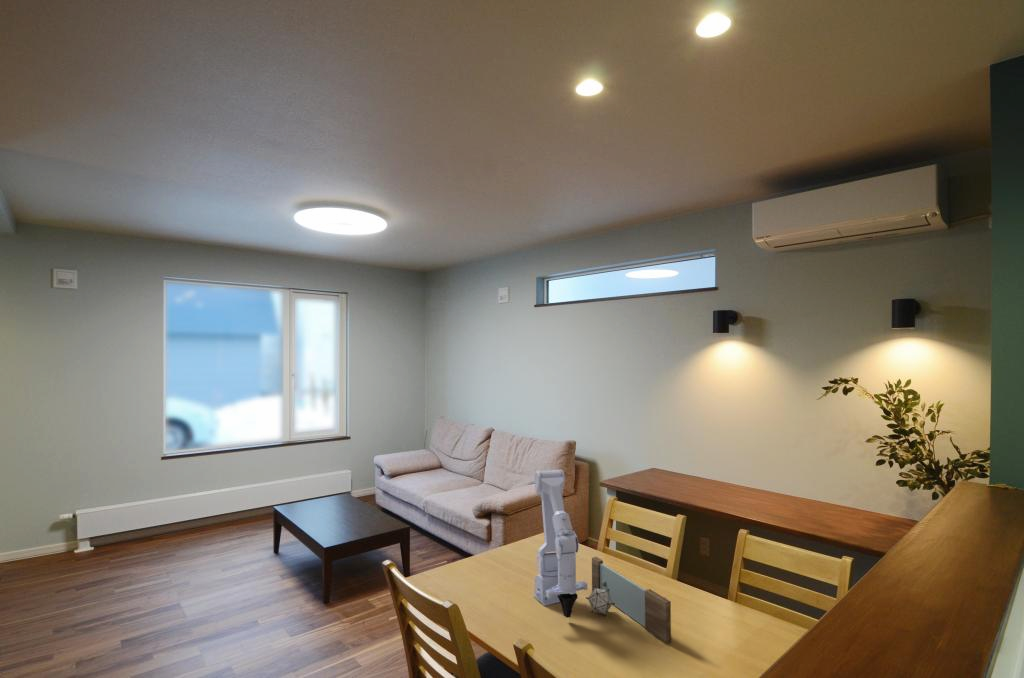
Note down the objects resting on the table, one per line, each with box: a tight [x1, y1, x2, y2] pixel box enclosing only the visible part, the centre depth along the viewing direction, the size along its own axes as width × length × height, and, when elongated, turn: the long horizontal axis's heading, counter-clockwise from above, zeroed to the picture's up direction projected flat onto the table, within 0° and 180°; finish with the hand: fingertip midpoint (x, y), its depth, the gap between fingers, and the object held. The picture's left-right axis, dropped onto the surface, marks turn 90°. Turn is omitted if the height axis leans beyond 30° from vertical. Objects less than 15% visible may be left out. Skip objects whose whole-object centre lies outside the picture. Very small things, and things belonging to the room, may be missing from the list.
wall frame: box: [591, 556, 672, 645], centre depth 168 cm, size 2×38×12 cm, turn 26°
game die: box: [585, 586, 615, 618], centre depth 169 cm, size 9×8×10 cm
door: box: [600, 562, 646, 628], centre depth 170 cm, size 2×24×11 cm, turn 26°
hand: (567, 616), depth 163 cm, fingers closed
